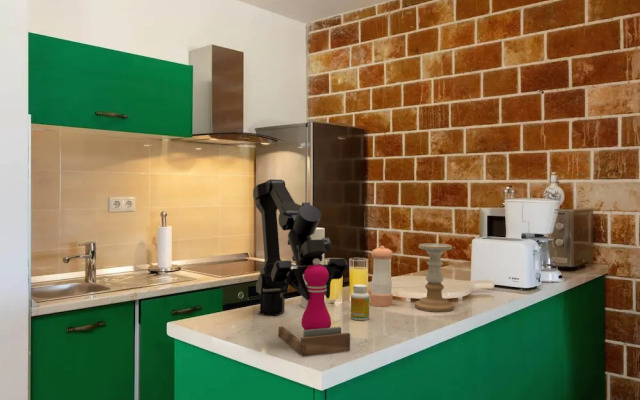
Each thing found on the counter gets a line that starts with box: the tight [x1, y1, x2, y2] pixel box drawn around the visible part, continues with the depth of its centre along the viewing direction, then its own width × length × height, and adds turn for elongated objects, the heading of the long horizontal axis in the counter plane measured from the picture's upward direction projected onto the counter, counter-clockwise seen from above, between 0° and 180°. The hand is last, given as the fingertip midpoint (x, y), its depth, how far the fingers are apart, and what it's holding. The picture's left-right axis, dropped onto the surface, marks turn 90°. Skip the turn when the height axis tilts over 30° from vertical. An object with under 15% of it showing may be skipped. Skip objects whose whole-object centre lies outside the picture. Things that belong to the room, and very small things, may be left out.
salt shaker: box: [369, 245, 394, 307], centre depth 179 cm, size 7×7×19 cm
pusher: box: [303, 326, 342, 337], centre depth 128 cm, size 1×9×5 cm, turn 112°
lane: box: [277, 325, 351, 357], centre depth 134 cm, size 18×12×4 cm
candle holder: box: [414, 242, 455, 313], centre depth 174 cm, size 12×12×20 cm
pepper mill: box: [301, 258, 332, 337], centre depth 132 cm, size 7×7×20 cm
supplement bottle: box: [350, 283, 370, 321], centre depth 160 cm, size 5×5×10 cm
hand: (318, 298), depth 131 cm, fingers open, 5 cm apart
